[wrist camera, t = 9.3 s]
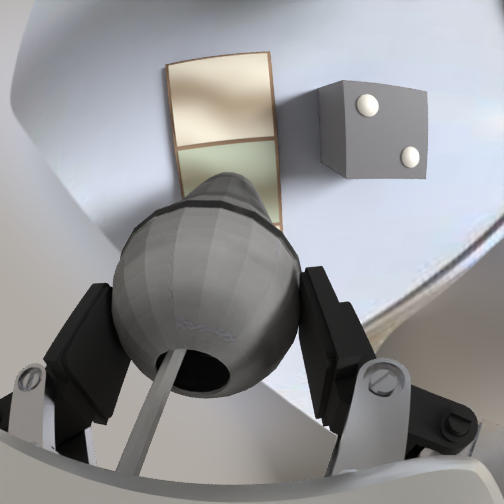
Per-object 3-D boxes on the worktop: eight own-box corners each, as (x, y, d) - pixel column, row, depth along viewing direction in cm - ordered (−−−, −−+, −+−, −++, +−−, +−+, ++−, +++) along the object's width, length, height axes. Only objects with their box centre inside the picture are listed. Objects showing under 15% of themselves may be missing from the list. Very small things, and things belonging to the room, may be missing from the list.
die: (317, 88, 21) (343, 79, 15) (386, 93, 21) (427, 91, 15) (321, 162, 25) (346, 179, 18) (387, 162, 25) (426, 179, 18)
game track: (167, 66, 20) (164, 64, 19) (269, 53, 20) (270, 51, 19) (202, 294, 31) (201, 300, 30) (283, 288, 31) (285, 293, 30)
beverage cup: (265, 252, 23) (291, 541, 5) (176, 237, 22) (67, 503, 4) (287, 163, 20) (463, 479, 2) (187, 146, 19) (-83, 375, 1)
